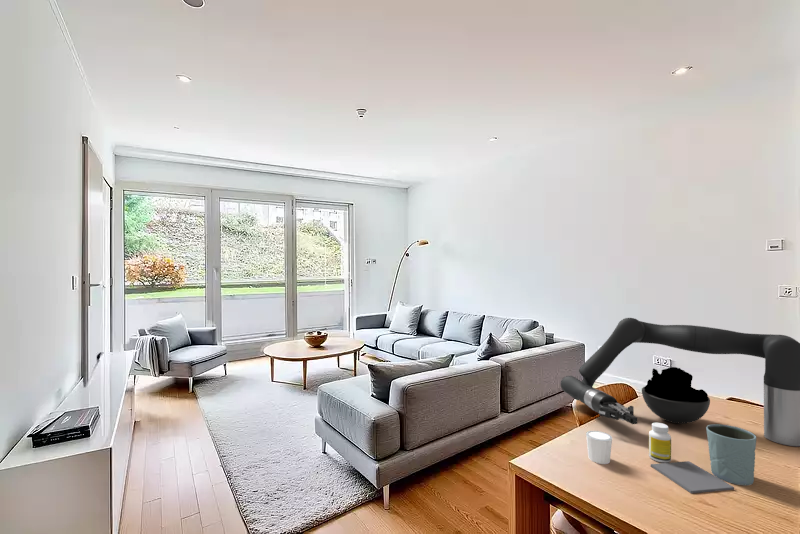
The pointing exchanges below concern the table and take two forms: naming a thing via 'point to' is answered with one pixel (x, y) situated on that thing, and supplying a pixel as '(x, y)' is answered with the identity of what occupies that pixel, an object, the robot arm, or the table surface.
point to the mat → (691, 477)
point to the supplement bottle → (660, 443)
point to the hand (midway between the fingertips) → (635, 421)
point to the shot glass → (599, 446)
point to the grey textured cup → (732, 453)
